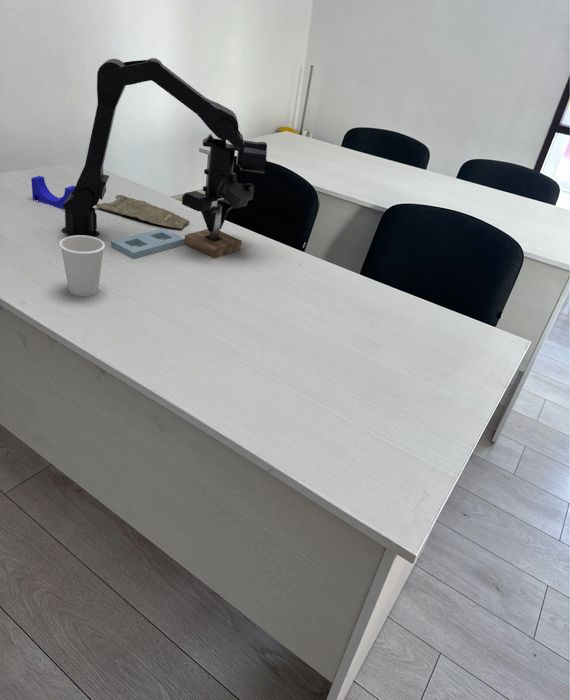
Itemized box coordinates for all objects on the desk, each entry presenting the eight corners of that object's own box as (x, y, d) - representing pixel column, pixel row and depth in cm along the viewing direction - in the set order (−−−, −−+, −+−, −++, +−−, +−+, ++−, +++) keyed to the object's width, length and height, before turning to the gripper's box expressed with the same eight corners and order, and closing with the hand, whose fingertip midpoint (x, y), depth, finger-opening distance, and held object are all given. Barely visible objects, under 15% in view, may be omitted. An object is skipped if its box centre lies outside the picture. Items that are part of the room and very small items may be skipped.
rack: (133, 258, 133) (133, 252, 132) (111, 246, 137) (111, 240, 136) (184, 244, 145) (184, 238, 144) (162, 233, 148) (162, 228, 147)
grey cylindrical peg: (213, 246, 144) (217, 207, 139) (205, 243, 145) (209, 204, 140) (220, 244, 146) (224, 206, 141) (212, 240, 147) (216, 202, 142)
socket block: (213, 258, 140) (214, 249, 139) (184, 244, 145) (184, 234, 143) (240, 249, 147) (241, 240, 146) (211, 236, 152) (212, 227, 151)
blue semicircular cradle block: (81, 207, 155) (81, 185, 152) (70, 212, 151) (69, 189, 148) (44, 196, 158) (43, 174, 154) (32, 200, 154) (31, 178, 151)
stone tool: (93, 210, 155) (176, 235, 150) (93, 199, 154) (177, 224, 149) (117, 200, 164) (196, 223, 159) (117, 190, 163) (197, 214, 158)
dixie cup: (59, 281, 119) (57, 234, 113) (101, 279, 122) (101, 234, 117) (63, 300, 112) (61, 252, 107) (108, 298, 116) (108, 251, 111)
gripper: (219, 182, 125) (212, 249, 133) (272, 172, 139) (262, 234, 147) (182, 167, 130) (178, 233, 138) (237, 159, 144) (230, 219, 152)
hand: (214, 230), depth 144 cm, fingers closed on grey cylindrical peg, 3 cm apart
